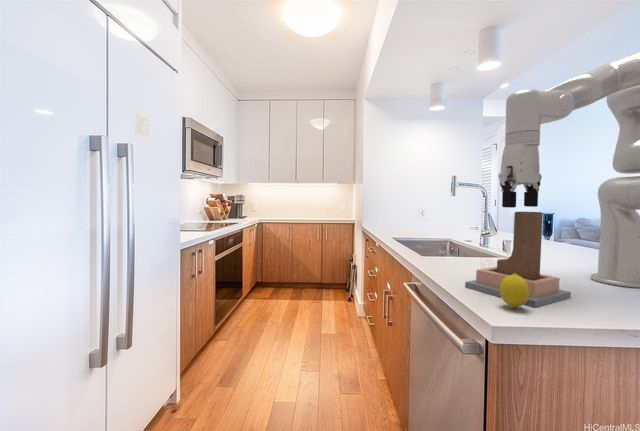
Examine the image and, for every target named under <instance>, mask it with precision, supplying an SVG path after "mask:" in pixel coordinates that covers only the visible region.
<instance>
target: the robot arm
mask: <svg viewBox="0 0 640 431" xmlns="http://www.w3.org/2000/svg"><path fill="white" fill-rule="evenodd" d="M605 98H606V105H607V107H608V109H609V110H610V112H611V114H613V116H614V118H615V120H616V121H617V123H618V124H617V125H618V126H619V132H618V137H617V142H616V145H615V150H614V153H613V157H612V168H613V170H614V171H615V172H616V173H620V174H622V175H623V174H624V175H625V174H627V175H629V174H631V175H632V174H634V175H635V174H637V175H638V174H640V51H636V52H634V53H632V54H629V55H626V56H623V57H621V58H618V59H615V60H612V61H609V62H607V63H604V64H602V65H600V66H598V67H596V68H593V69H591V70H588V71H587V72H584V73H582V74H580V75H577V76H576V77H572V78H570V79H568V80H566V81H564V82H562V83H559V84H557V85H556V86H554V87H551V88H550V89H546V90H544V91H540V90H537V89H523V90H518V91H515V92H512V93H510V94H509V95H508V97H507V98H506V102H505V133H504V134H505V136H504V137H505V139H504V147H503V151H502V155H501V164H500V172H499V173H498V179H499V186H500V187H501V188H500V189H501V190H500V192H502V200H501V202H502V204H501V207H502V208H513V209H515V208H516V207H517V191H515V190H516V189H517V187H518V186H519V185H520V186H521V185H523V187H524V189H525V191H524V192H523V196H524V197H523V206H524V207H525V208H526V207H530V208H531V207H533V208H535V207H536V208H537V207H538V206H539V192H540V186H541V181H542V177H543V176H542V174H541V173H540V150H539V146H540V145H541V141H540V140H541V125H544V124H548V123H553V122H556V121H560V120H563V119H565V118H566V117H568V116H569V115H570V114H572V112H573V111H575V110H578V109H582V108H585V107H587V106H588V107H589V106H590V105H592V104H594V103H596V102H598V101H600V100H602V99H605ZM637 175H636V176H621V177H620V176H619V177H613V178H610V179H607V180H605V181H603V182H602V183H601V184H600V185H599V186H598V189H597V198H598V204H599V210H600V212H599V213H600V227H599V243H598V259H597V260H598V262H597V273H591V274H590V279H591V280H593V281H596V282H599V283H602V284H608V285H613V286H619V287H625V288H627V287H628V288H637V289H638V288H640V214H639V212H637V211H638V210H640V175H638V176H637Z"/></svg>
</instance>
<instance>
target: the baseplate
mask: <svg viewBox="0 0 640 431" xmlns="http://www.w3.org/2000/svg"><path fill="white" fill-rule="evenodd" d="M475 272H476V274H475V277H476V278H475V279H473V280H468V281H465V284H464V286H465V288H468V289H470V290H473V291H477V292H481V293H484V294H487V295H491V296H495V297H497V298H501V299H502V297H501V295H500V285H501V282H502V280H503V279H504V278H505V277H506V276H509V275H506V274H501V273H497V266H492V267H491V266H490V267H486V268H480V269H479V268H478V269H476V271H475ZM524 280H525V281H526V282H527V284H528V288H529V298H528V300H527V302H526V303H525V304H524V305H525V306H528V307H532V308H539V307H542V306H546V305H550V304H555V303H557V302H561V301H564V300H567V299H571V298H572V297H571V296H572V291H569V290H568V291H567V290H565V289H560V277H556V276H551V275H546V274H541V273H540V279H539V280H534V281H532V280H528V279H524Z"/></svg>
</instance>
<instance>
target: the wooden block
mask: <svg viewBox="0 0 640 431" xmlns="http://www.w3.org/2000/svg"><path fill="white" fill-rule="evenodd" d="M543 214H544V213H543V212H541V211H515V212H514V215H513V216H514V223H513V241H512V242H513V243H512V244H513V246H512V252H511V254H510V256H509V257H508V258H500V259H497V260H496V267H497V273H501V274H506V275H512V274H517V275H518V276H520V277H522V278H523V279H528V280H532V281H534V280H539V279H540V274H541V261H542V258H541V256H542V237H543V236H542V235H543V216H544V215H543Z"/></svg>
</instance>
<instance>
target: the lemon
mask: <svg viewBox="0 0 640 431" xmlns="http://www.w3.org/2000/svg"><path fill="white" fill-rule="evenodd" d="M500 295H501V297H502V298H501V299H502V301H503V302H504V303H505V304H507V305H508V306H510V307H511V309H517V308H519V307H521V306H523V305H524V304H525V303H526V302H527V300H528V298H529V288H528V284H527V282H526V281H525V280H524V279H523V278H522V277H520V276H518V275H517V274H512V275H509V276H506V277H505V278H504V279H503V280H502V282H501V285H500Z"/></svg>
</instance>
